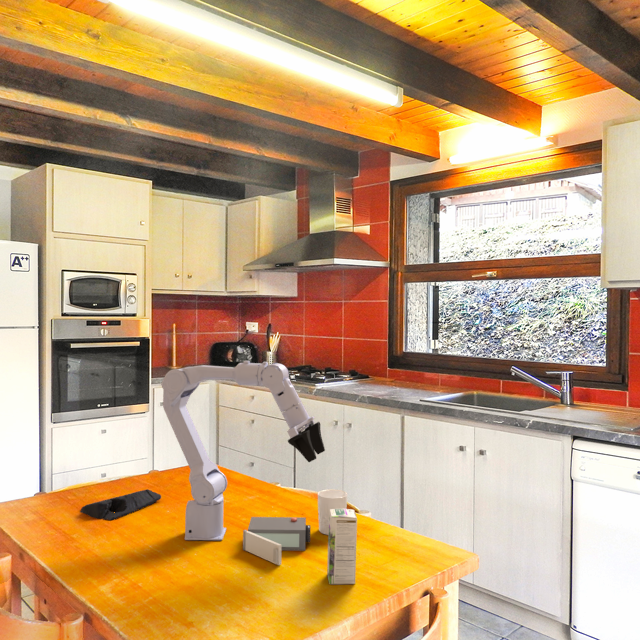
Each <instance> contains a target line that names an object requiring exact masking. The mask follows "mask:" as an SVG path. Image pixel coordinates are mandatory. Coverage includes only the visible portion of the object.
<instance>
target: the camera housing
mask: <svg viewBox="0 0 640 640" xmlns="http://www.w3.org/2000/svg"><path fill="white" fill-rule="evenodd" d="M306 519H307V518H306V517H293V516H292V517H290V516H287V517H284V516H281V517H279V516H278V517H276V516H275V517H272V516H268V517H267V516H251V518H250V522H249V525H248V528H247V531H250V532H252V533H254V534H257V535H259V536H262V537H264V538H267V539H269V540H271V541H274V542H276V543H279V544H281V545H282V549H281V551H298V552H301V551H304V552H305V551H306V543H310V542H311V525H310V524H307V523H306V522H307V521H306Z"/></svg>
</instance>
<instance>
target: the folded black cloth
mask: <svg viewBox="0 0 640 640" xmlns="http://www.w3.org/2000/svg"><path fill="white" fill-rule="evenodd" d="M161 499H162V494H159V493H157V492H155V491H153V490H151V489H143V490H139V491H138V490H137V491H135V492H131V493H128V494H124V495H120V496H114V497H111V498H106V499H104V500H101V501H96V502H92V503H87V504H86V505H83V506H82V507H81V508H80V511H79V513H81V514H85V515H87V516H88V517H91V518H95V519H98V520H99V519H100V520H105V521H106V520H108V521H115V520H117V519H119V518H122V517H125V516H128V515H129V513H131V514H132V512H133V513H135V512H136V511H138V509H139V510H141V509H144V508H143V507H145V508H146V506H147V507H149V506H152V505H153V504H154V502H155V503H157V502H158V501H159V500H161ZM148 505H149V506H148ZM134 511H135V512H134ZM114 512H115V513H114ZM127 514H128V515H127ZM118 517H119V518H118ZM114 519H115V520H114Z"/></svg>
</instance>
